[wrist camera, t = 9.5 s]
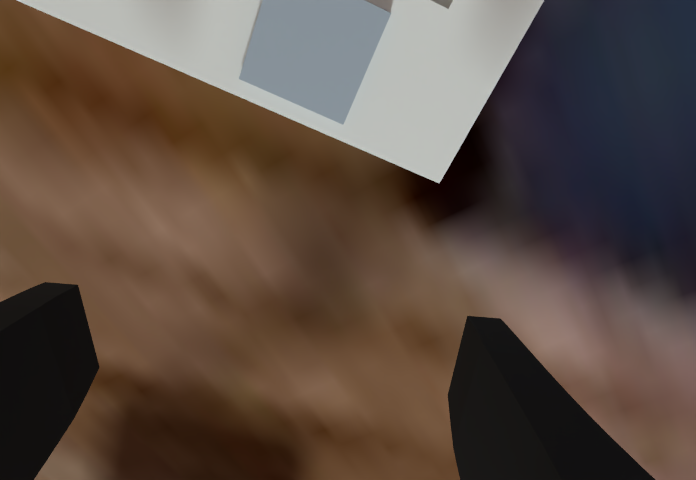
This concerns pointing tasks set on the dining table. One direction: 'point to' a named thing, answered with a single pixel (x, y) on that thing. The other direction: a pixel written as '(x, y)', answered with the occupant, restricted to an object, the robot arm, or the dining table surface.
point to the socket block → (333, 61)
